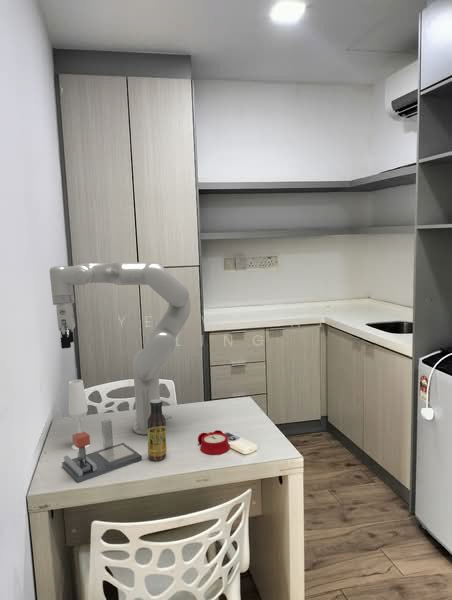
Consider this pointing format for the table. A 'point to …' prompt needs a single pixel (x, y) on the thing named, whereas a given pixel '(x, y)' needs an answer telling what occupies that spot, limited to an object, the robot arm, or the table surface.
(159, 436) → the sauce bottle
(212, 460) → the table surface
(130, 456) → the base
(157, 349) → the robot arm
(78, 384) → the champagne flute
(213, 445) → the alarm clock
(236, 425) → the table surface
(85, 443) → the press lever
